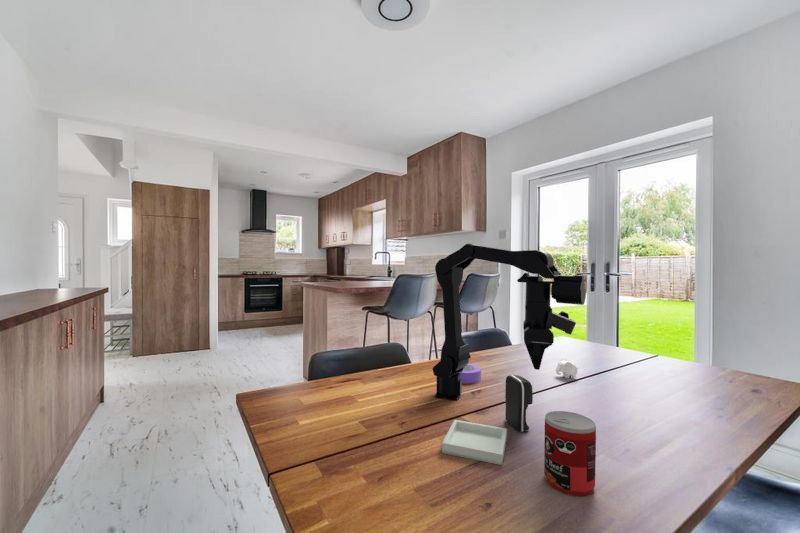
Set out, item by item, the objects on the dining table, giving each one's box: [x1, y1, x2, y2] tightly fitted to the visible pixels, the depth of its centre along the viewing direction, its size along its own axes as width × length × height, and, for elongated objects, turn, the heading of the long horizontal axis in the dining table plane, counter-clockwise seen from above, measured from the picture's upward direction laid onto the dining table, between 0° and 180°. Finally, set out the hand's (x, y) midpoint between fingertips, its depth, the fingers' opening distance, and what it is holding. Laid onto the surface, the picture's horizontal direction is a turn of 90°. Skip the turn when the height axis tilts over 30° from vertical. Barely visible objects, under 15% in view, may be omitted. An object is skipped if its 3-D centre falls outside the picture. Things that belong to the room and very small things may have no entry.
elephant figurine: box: [555, 357, 580, 380], centre depth 121 cm, size 7×8×6 cm
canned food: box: [543, 410, 597, 497], centre depth 61 cm, size 8×8×11 cm
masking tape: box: [460, 362, 482, 385], centre depth 118 cm, size 12×12×4 cm
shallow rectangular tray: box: [441, 419, 508, 466], centre depth 73 cm, size 12×12×2 cm
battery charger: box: [504, 374, 534, 433], centre depth 83 cm, size 7×4×11 cm, turn 10°
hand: (536, 364), depth 87 cm, fingers open, 9 cm apart
